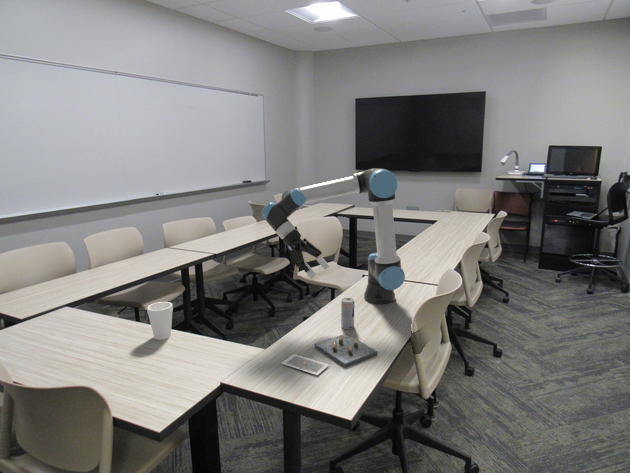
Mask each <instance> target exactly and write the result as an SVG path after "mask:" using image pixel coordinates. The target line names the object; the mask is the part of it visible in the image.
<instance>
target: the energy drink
mask: <svg viewBox="0 0 630 473" xmlns="http://www.w3.org/2000/svg"><path fill="white" fill-rule="evenodd" d="M340 306H341V309H340V310H341V311H340V312H341V314H340V317H341V319H340V320H341V322H340V323H341V325H340V326H341V328H342V329H343V330H352V329H354V328H355V300H354V299H353V298H351V297H345V298H342V299H341V303H340Z"/></svg>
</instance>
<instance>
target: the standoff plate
mask: <svg viewBox="0 0 630 473" xmlns="http://www.w3.org/2000/svg"><path fill="white" fill-rule="evenodd" d="M314 348H315V349H316V350H318V351H320V353H323V354H324V355H326V356H327V357H328V358H330V359H331V360H332V361H334V362H335V363H337V364H338V365H340V366H341V367H343V368H347V367H349V366H352V365H354V364H358V363H360V362H363V361H366V360H368V359H370V358H373V357H376V356H377V355H378V351H377V350H376V349H375V348H372V347H370V346H369V345H367V344H365V343H363V342H361V341H360V340H359V339H358V338H355V337H353V336H351V335H349V334H348V333H344V334H341V335H338V336H335V337H332V338H329V339H326V340H323V341H320V342H316V343H314Z"/></svg>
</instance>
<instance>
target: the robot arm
mask: <svg viewBox="0 0 630 473" xmlns="http://www.w3.org/2000/svg"><path fill="white" fill-rule="evenodd" d="M397 188H398V178H397V177H396V176H395V174H394V173H393V172H392V171H390V170H388V169H385V168H377V167H374V168H370V169H367V170H363V171H360V172H357V173H356V172H355V173H353V174H352V176H347V177H343V178H340V179H339V178H338V179H335V180H330V181H326V182H325V181H324V182H321V183H316V184H312V185H307V186H303V187H295V188H293V189H290V188H289V189H286V190H285V191H283V193H281V200H280V201H279V202H277V203H275V202H273V201H272V202H269V203H267V204H266V205H265V206H264V207H263V208H262V210H261V212H260V213H261V216H262V218H264V220H265V221H266V223H267V224H268V225H269V226H270V227H271V229H273V231H275V233H276V234H277V236H278V237H280V239H281V240H282V241H283V243H284V244H285V245H286V246H287V250H288V252H289V253H290V256H291V258H292V261H293V262H294V264H295V267H297V268H298V269H301V268H302V270H303V271H304V272H305V274H306V275H307V276H308V277H309V278H310V279H311V280H312V279H314V277H316V276H317V274H316V272H315V271H314V270H313V269H312V267H311V266H310V265H309V264H308V262H305V259H304V255H303V253H307V254H309V255H311V256H312V257H314V258H315V260H316V261H317V263H318V264H319V265H320V266H321V267H322V269H323V270H324V271H327V270H328V269H329V268H330V267H331V265H329V263H328V262H327V261H326V259H325V258H324V257H323V256H322V254H323V252H322V251H321V250H320V249H319V248H318V247H316V246H315V245H313V244H312V243H311V242H310V241H309V240H308V239H307V238H306V237H304V238H303V239H301V237H302V233H300V232H299V230H297V229H296V227H295V225H294V224H293V223H292V222H291V221H290V220H289V219H288V218H289V217H291V215H293V213H295V212H296V211H298V210H299V209H300V208H301V207H303V206H304V205H305V204H309V203H315V202H319V201H323V200H327V199H330V198H331V199H333V198H336V197H340V196H346V195H350V194H354V193H355V194H356V195H359V194H360V195H361V194H367V197H368V203H369V204H371V205H372V211H373V212H372V213H373V224H374V232H375V243H376V245H375V246H376V252H373V253H370V254H369V255H368V259H367V262H368V263H367V284H366V288H365V291H364V294H363V295H364V296H363V298H364V300H365V301H366V302H368V303H372V304H377V305H378V304H381V305H382V304H390V303H393V302H394V301H395V299H396V293H395V291H394V290H397V289H399V288H400V287H401V286H402V285H403V284H404V282H405V279H406V275H405V271H404V269H403V268H402V261H401V257H400V256H399V255H398V254H397V243H396V242H397V241H396V233H395V232H396V231H395V221H394V218H395V217H394V209H393V208H394V207H393V203H394V201H396V191H397Z"/></svg>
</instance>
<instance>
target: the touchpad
mask: <svg viewBox="0 0 630 473" xmlns="http://www.w3.org/2000/svg"><path fill="white" fill-rule="evenodd" d="M280 364H281V365H285V366H288V367H290V368H294V369H297V370H300V371H303V372H307V373H309V374H312V375H315V376H319V374H321V373H322V372H323V371H325V370H326V369H327V368H328V366H330V364H329V363H325V362H322V361H318V360H316V359H311V358H309V357H305V356H301V355H299V354H295V353H293V354H291V355H290V356H289V357H287V358H286V359H285V360H283V361H282V362H281V363H280Z"/></svg>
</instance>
